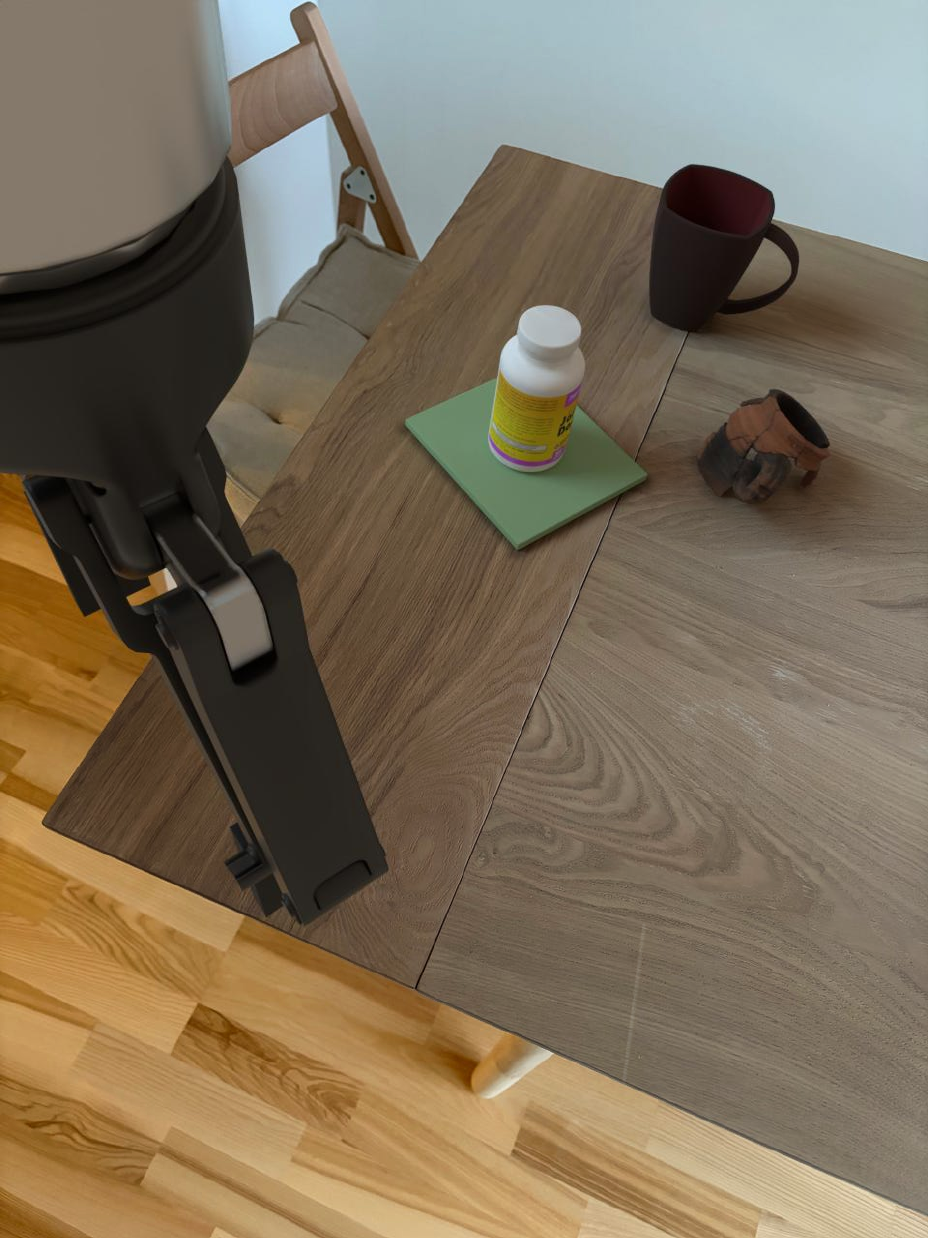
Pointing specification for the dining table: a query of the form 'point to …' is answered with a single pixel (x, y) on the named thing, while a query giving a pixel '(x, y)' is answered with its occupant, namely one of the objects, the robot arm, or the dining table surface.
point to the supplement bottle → (537, 390)
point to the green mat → (514, 496)
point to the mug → (710, 245)
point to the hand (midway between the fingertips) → (198, 728)
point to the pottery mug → (763, 448)
